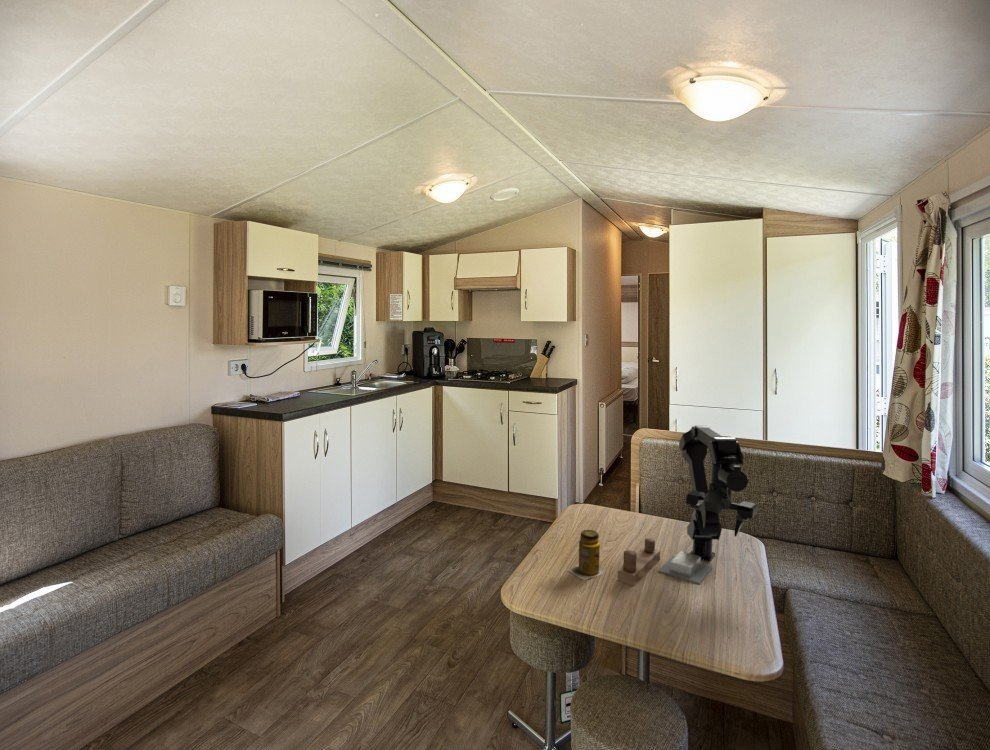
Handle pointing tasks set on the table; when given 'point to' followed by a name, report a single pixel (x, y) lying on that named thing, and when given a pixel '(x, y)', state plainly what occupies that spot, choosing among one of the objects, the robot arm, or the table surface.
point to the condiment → (588, 556)
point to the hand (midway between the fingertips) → (719, 532)
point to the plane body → (638, 563)
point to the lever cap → (685, 564)
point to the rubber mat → (696, 577)
